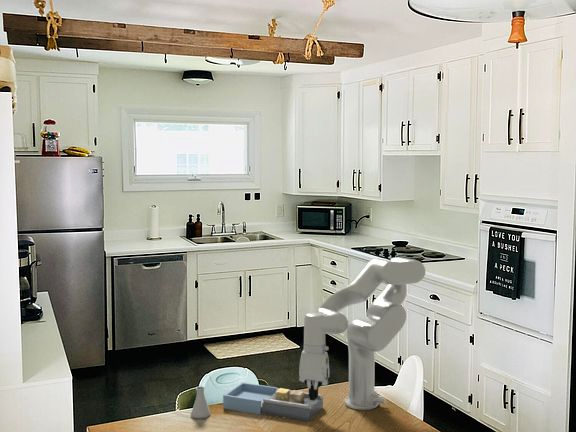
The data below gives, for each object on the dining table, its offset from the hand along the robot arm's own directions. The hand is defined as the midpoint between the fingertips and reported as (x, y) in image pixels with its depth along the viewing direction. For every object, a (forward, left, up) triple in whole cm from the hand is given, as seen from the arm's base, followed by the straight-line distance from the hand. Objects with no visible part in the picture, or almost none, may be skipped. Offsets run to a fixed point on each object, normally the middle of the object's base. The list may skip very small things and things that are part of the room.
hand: (313, 398), depth 217 cm
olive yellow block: (+12, -1, -2) cm, 12 cm away
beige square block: (+7, -1, -2) cm, 7 cm away
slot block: (+8, -1, -6) cm, 10 cm away
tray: (+25, -1, -6) cm, 26 cm away
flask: (+37, +15, -6) cm, 41 cm away
